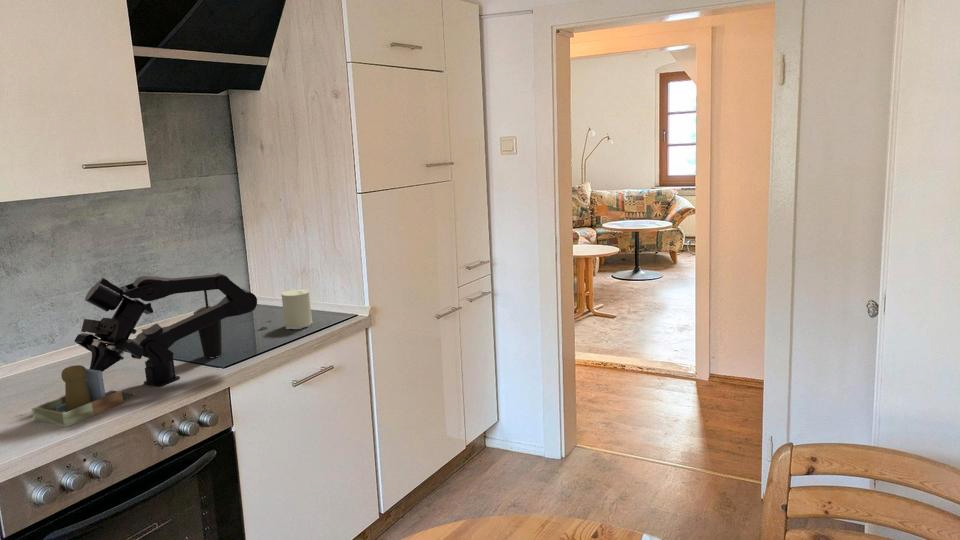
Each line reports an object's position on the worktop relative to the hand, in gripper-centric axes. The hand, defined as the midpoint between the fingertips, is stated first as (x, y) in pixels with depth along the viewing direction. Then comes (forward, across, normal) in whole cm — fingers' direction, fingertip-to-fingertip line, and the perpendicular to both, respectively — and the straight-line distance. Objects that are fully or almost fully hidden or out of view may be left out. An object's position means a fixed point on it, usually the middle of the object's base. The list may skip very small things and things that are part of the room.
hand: (90, 377), depth 168 cm
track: (+8, 0, +2) cm, 8 cm away
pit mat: (+1, 0, +9) cm, 9 cm away
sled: (+8, 0, +2) cm, 8 cm away
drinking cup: (-22, -1, +32) cm, 39 cm away
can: (-46, +2, +57) cm, 73 cm away
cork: (+8, 0, +2) cm, 8 cm away
